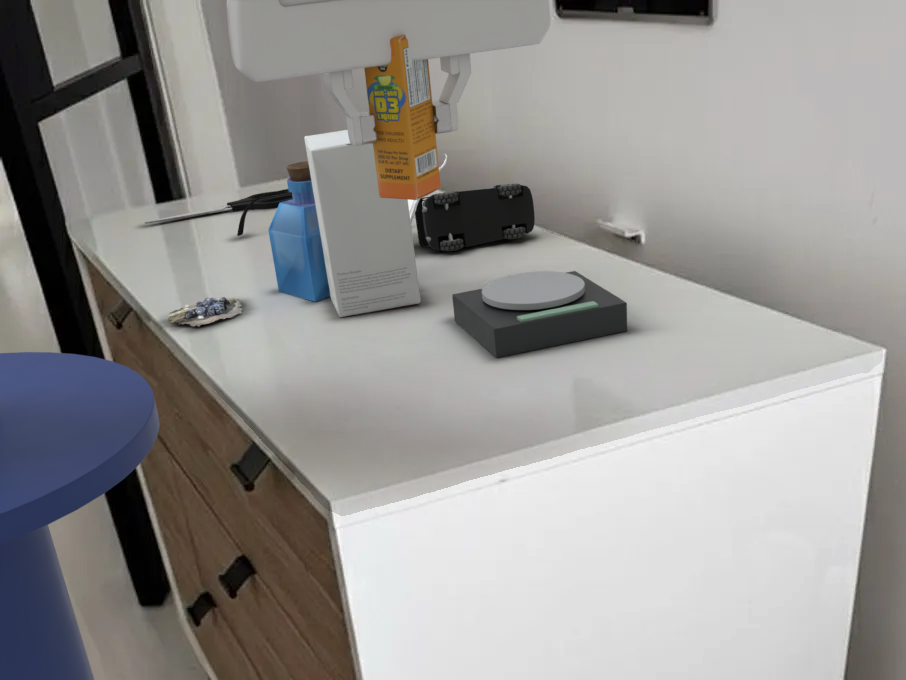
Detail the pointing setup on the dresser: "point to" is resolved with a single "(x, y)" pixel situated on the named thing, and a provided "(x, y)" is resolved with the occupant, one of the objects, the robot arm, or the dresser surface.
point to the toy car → (474, 216)
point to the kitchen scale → (538, 311)
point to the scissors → (241, 205)
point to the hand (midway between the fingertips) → (403, 137)
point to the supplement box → (403, 125)
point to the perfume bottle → (299, 240)
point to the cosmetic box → (360, 229)
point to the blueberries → (206, 311)
